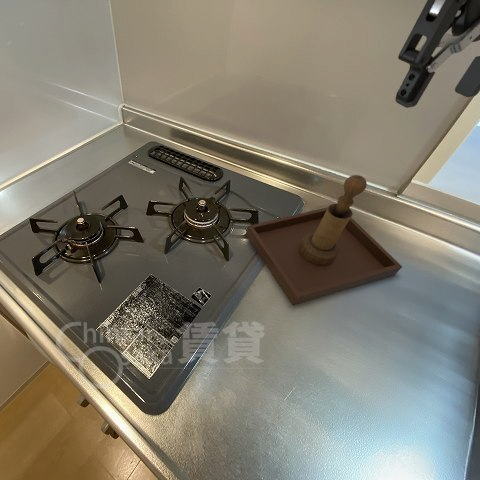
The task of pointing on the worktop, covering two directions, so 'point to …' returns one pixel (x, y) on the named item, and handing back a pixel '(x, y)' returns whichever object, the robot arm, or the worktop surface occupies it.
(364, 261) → the tray
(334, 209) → the mortar and pestle
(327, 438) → the worktop surface
